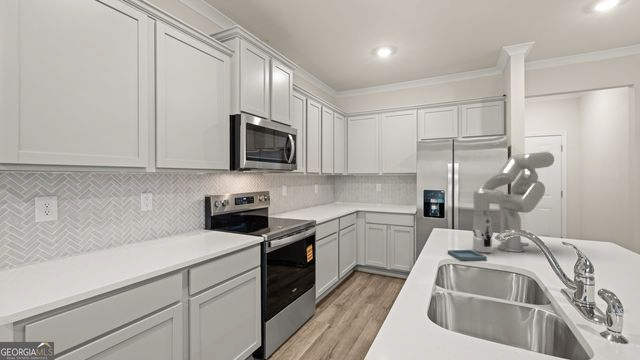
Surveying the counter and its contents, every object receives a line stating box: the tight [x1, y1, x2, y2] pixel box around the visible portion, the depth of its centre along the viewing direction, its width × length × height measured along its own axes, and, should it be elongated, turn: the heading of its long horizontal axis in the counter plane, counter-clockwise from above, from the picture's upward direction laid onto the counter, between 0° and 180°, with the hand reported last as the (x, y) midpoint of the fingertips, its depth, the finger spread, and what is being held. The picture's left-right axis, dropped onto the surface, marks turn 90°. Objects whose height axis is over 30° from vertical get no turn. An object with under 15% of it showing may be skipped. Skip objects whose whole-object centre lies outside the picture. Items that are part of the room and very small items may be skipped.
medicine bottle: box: [472, 230, 493, 253], centre depth 151 cm, size 7×7×12 cm
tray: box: [447, 249, 488, 262], centre depth 142 cm, size 13×13×2 cm
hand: (482, 244), depth 151 cm, fingers closed on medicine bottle, 7 cm apart
